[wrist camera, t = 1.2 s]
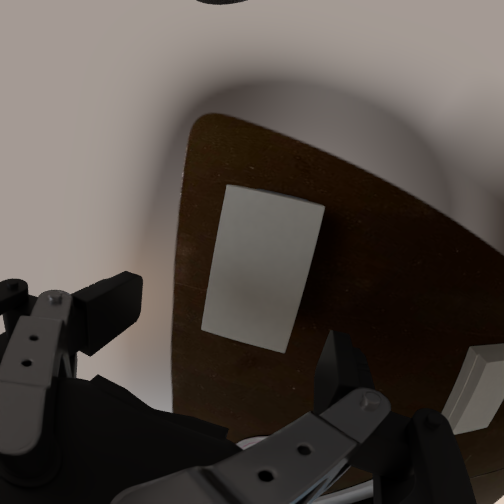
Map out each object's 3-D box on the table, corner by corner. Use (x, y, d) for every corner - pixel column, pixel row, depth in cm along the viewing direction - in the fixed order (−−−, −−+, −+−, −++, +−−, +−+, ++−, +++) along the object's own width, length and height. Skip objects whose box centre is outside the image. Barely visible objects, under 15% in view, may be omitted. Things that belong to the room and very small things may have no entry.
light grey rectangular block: (237, 185, 20) (226, 184, 17) (322, 204, 19) (325, 206, 16) (212, 315, 22) (200, 329, 20) (287, 336, 21) (284, 353, 19)
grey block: (470, 344, 23) (486, 363, 19) (506, 341, 21) (522, 357, 18) (439, 415, 25) (449, 436, 21) (475, 409, 24) (486, 428, 20)
